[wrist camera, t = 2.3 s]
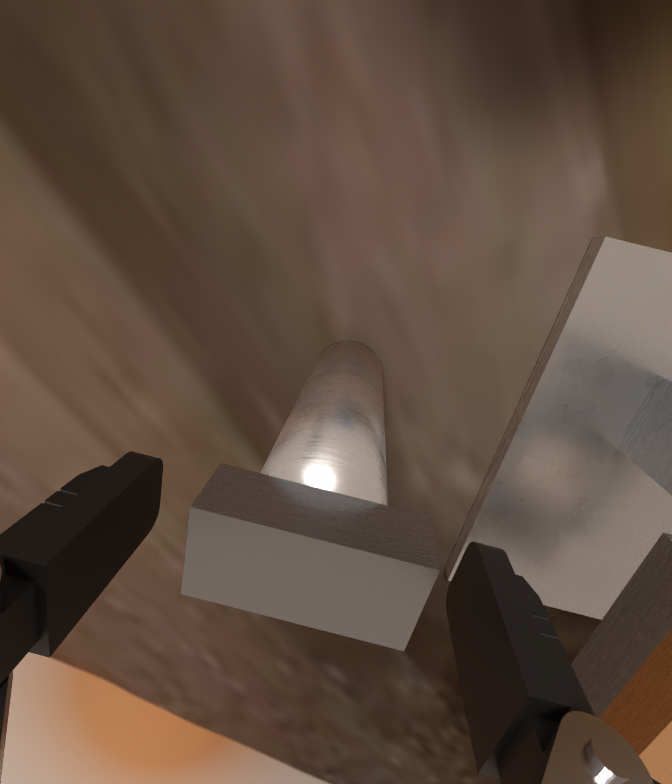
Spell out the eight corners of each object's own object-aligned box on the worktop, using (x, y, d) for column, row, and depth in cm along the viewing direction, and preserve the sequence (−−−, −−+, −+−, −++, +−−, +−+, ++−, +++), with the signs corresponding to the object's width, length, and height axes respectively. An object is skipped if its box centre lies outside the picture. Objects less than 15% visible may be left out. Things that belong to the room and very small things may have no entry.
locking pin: (309, 330, 20) (193, 481, 7) (403, 353, 20) (450, 546, 7) (296, 393, 21) (178, 613, 9) (384, 415, 21) (396, 669, 9)
